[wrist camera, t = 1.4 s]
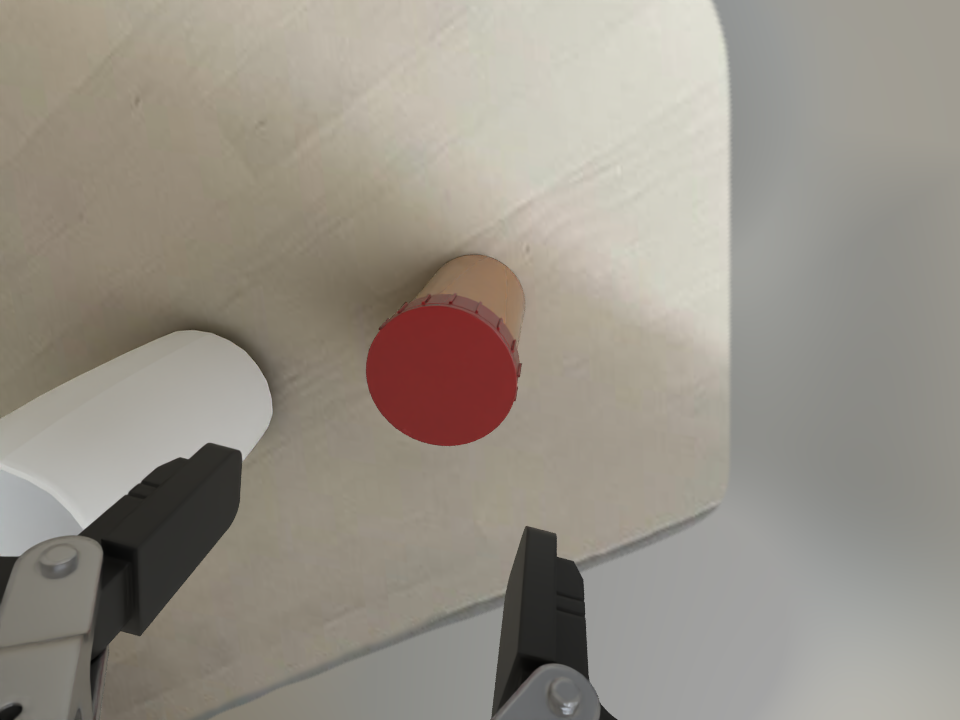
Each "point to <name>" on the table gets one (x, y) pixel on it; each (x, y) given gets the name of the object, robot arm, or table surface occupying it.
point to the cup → (123, 431)
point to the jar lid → (444, 370)
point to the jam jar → (482, 287)
